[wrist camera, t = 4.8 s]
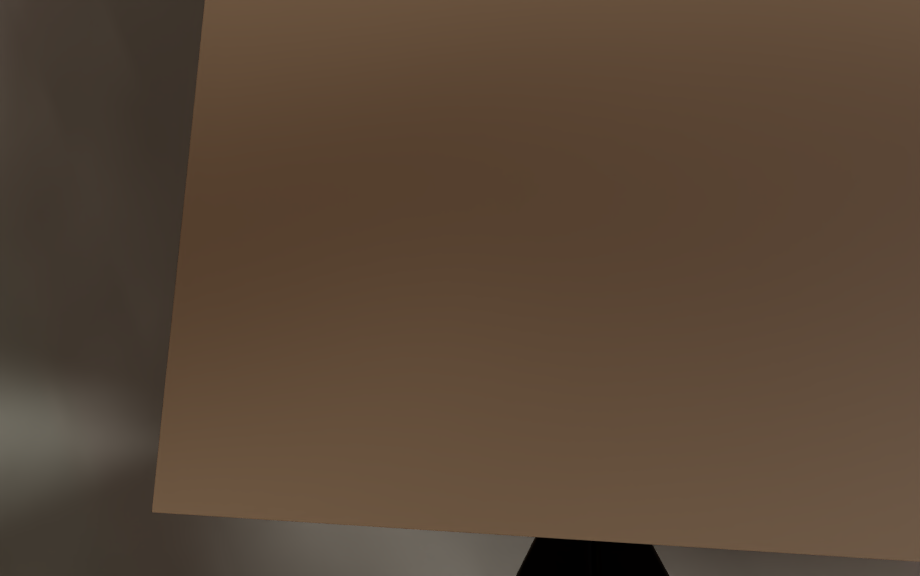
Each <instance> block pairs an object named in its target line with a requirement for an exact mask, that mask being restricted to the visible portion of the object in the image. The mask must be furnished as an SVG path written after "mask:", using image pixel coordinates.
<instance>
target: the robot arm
mask: <svg viewBox="0 0 920 576" xmlns="http://www.w3.org/2000/svg"><path fill="white" fill-rule="evenodd" d="M516 576H669V574H668V572H667V571H666V569H665V567H664V565H663V563H662V561H661V560H660V558H659V556H658V554H657V552H656V550H655V549H654V547H653V545H652V544H637V543H621V542H606V541H590V540H575V539H559V538H544V537H535V539H534V541H533V543H532V545H531V547H530V549H529V551H528V553H527V555H526V557H525V559H524V561H523V563H522V565H521V567H520V569H519V571H518V573H517V575H516Z"/></svg>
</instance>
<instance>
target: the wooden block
mask: <svg viewBox="0 0 920 576" xmlns="http://www.w3.org/2000/svg"><path fill="white" fill-rule="evenodd" d="M152 512H155V513H171V514H186V515H202V516H217V517H233V518H248V519H264V520H279V521H295V522H310V523H326V524H341V525H357V526H373V527H388V528H404V529H419V530H435V531H450V532H466V533H481V534H497V535H512V536H528V537H544V538H559V539H575V540H590V541H606V542H621V543H637V544H652V545H668V546H683V547H699V548H714V549H730V550H746V551H761V552H777V553H792V554H808V555H823V556H839V557H854V558H870V559H885V560H901V561H916V562H920V0H205V3H204V13H203V23H202V32H201V42H200V52H199V61H198V71H197V81H196V90H195V100H194V109H193V119H192V129H191V138H190V148H189V158H188V167H187V177H186V187H185V196H184V206H183V216H182V225H181V235H180V244H179V254H178V264H177V273H176V283H175V293H174V302H173V312H172V322H171V331H170V341H169V351H168V360H167V370H166V379H165V389H164V399H163V408H162V418H161V428H160V437H159V447H158V457H157V466H156V476H155V486H154V495H153V505H152Z"/></svg>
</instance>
